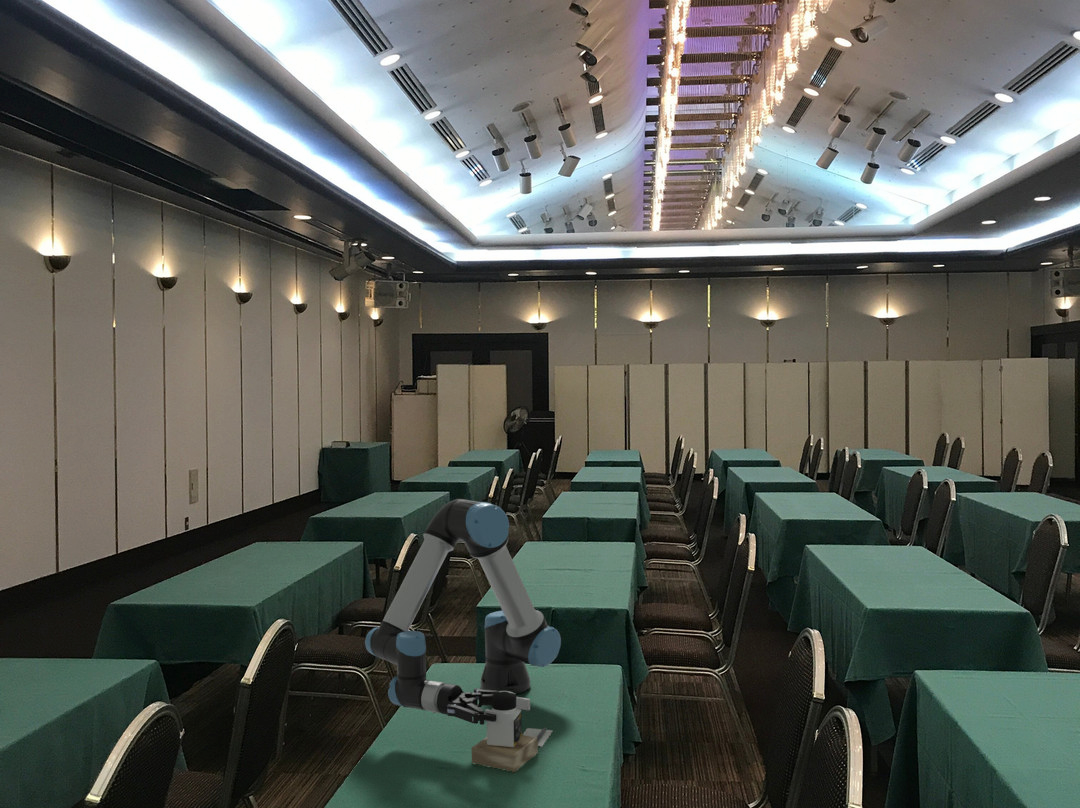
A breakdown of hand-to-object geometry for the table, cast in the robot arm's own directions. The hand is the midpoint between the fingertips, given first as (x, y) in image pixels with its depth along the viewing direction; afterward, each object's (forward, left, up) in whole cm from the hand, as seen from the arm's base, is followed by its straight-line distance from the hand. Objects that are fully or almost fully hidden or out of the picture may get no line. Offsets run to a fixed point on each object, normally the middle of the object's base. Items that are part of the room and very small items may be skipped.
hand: (519, 711), depth 224 cm
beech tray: (0, -4, -13) cm, 13 cm away
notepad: (-14, -3, -13) cm, 19 cm away
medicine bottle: (0, -4, -8) cm, 9 cm away
